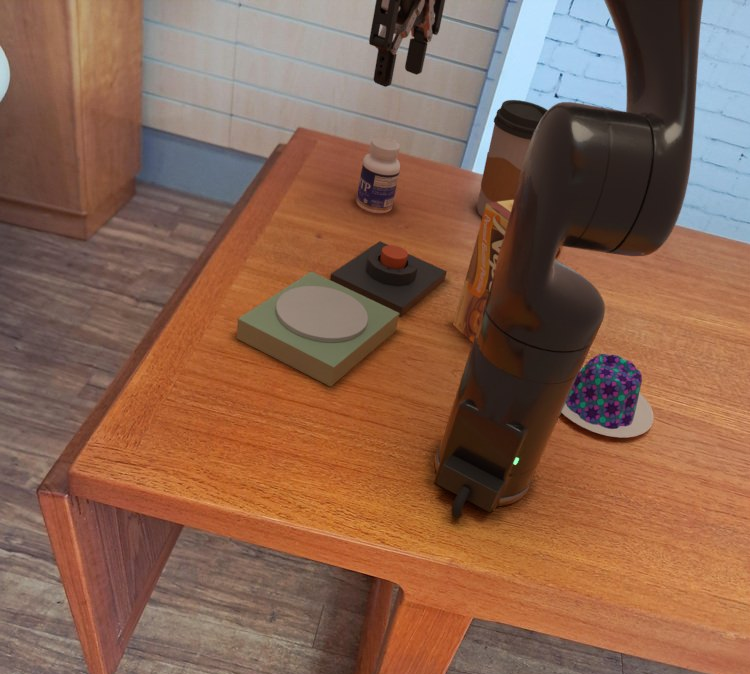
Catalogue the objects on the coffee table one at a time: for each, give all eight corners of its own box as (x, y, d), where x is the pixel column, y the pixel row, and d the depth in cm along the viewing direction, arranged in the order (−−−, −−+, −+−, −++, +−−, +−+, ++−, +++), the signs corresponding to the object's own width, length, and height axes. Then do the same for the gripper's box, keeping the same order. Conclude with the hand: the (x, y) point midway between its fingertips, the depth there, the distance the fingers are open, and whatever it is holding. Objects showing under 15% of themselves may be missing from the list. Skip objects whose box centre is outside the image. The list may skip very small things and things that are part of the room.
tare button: (397, 273, 94) (400, 261, 93) (374, 262, 95) (377, 251, 94) (409, 263, 96) (412, 252, 95) (387, 253, 97) (390, 242, 96)
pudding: (558, 360, 92) (574, 322, 88) (657, 398, 90) (677, 361, 86) (534, 415, 83) (551, 375, 80) (642, 457, 81) (665, 419, 78)
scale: (330, 387, 80) (335, 362, 78) (236, 338, 83) (238, 313, 81) (395, 331, 90) (400, 308, 88) (308, 289, 93) (311, 266, 90)
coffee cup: (531, 217, 119) (566, 114, 108) (509, 234, 113) (543, 128, 103) (484, 196, 121) (513, 94, 110) (459, 212, 115) (488, 105, 105)
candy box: (523, 360, 90) (569, 237, 80) (495, 368, 88) (540, 243, 78) (476, 319, 95) (514, 197, 84) (449, 325, 93) (485, 201, 82)
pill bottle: (351, 196, 112) (361, 133, 106) (385, 197, 114) (397, 135, 108) (361, 214, 109) (373, 150, 103) (396, 215, 111) (410, 152, 105)
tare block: (400, 317, 92) (405, 295, 90) (329, 284, 94) (332, 261, 92) (444, 281, 100) (450, 259, 98) (377, 250, 102) (382, 229, 100)
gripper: (427, -62, 83) (396, 99, 94) (481, -70, 92) (447, 77, 104) (366, -83, 84) (343, 79, 96) (426, -88, 94) (398, 59, 105)
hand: (397, 78), depth 100 cm, fingers open, 8 cm apart
